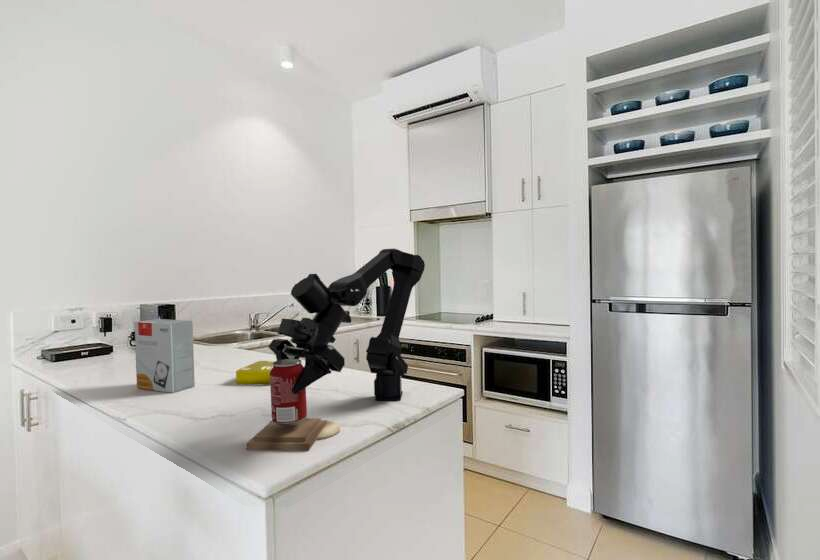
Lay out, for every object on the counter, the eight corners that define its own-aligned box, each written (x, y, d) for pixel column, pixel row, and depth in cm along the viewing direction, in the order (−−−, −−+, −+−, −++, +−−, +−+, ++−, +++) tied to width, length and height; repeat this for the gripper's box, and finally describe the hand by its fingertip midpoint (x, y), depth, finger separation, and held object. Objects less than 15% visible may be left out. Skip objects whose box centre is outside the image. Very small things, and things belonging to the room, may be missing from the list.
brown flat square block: (326, 425, 89) (326, 416, 89) (309, 450, 77) (308, 439, 77) (272, 425, 90) (272, 416, 90) (246, 449, 78) (246, 439, 78)
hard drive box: (135, 389, 122) (132, 321, 122) (159, 382, 129) (157, 318, 129) (173, 393, 116) (170, 323, 116) (196, 386, 124) (193, 319, 123)
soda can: (298, 428, 79) (295, 366, 79) (265, 427, 81) (262, 365, 80) (312, 415, 86) (310, 358, 86) (282, 414, 87) (279, 358, 87)
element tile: (301, 373, 137) (300, 359, 137) (280, 386, 122) (279, 370, 122) (259, 373, 139) (258, 359, 139) (233, 385, 125) (232, 369, 124)
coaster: (344, 423, 90) (344, 420, 90) (333, 440, 81) (333, 437, 81) (304, 423, 91) (303, 420, 91) (289, 440, 82) (288, 437, 82)
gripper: (274, 302, 91) (228, 362, 83) (331, 304, 80) (285, 374, 72) (304, 332, 98) (265, 390, 89) (361, 338, 87) (323, 406, 78)
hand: (282, 390), depth 82 cm, fingers closed on soda can, 7 cm apart
